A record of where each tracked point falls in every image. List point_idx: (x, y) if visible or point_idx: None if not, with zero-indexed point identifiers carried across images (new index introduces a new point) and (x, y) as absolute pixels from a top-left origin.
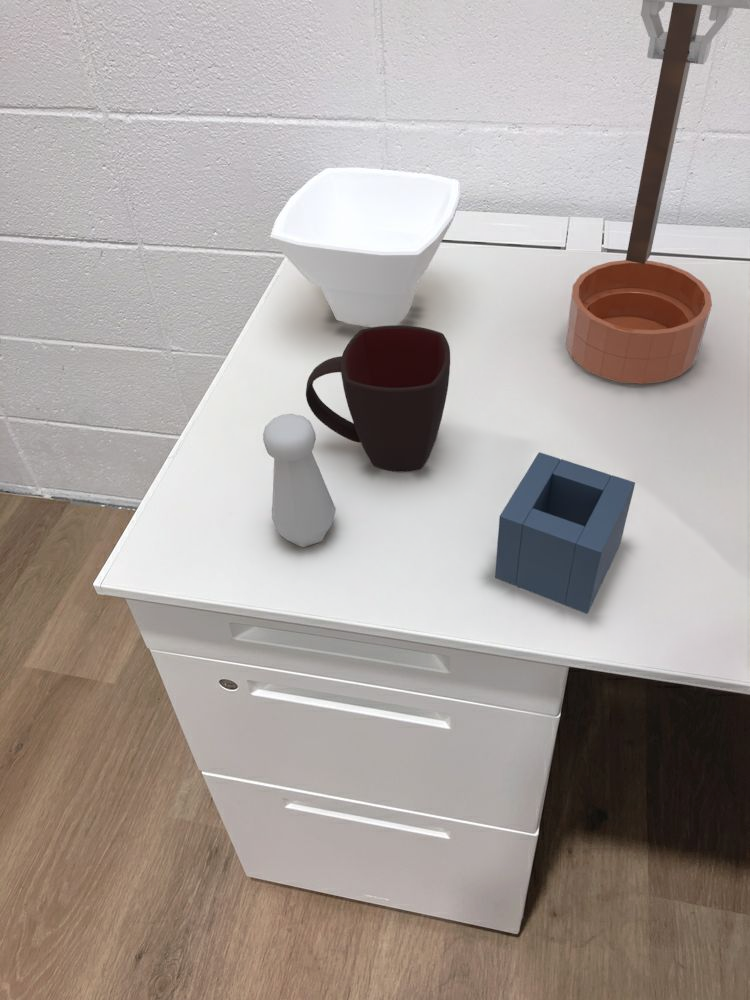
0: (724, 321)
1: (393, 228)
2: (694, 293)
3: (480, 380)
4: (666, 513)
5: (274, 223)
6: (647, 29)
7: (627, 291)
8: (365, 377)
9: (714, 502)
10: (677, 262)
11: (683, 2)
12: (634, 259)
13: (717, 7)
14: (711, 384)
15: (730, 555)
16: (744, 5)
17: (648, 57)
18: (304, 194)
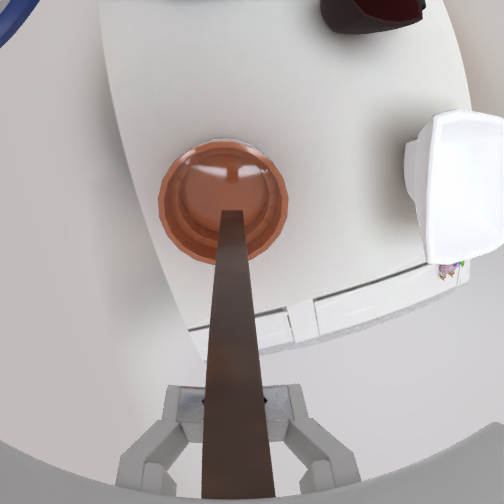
0: (170, 256)
1: (448, 220)
2: (183, 240)
3: (324, 104)
4: (146, 31)
5: None
6: (322, 429)
7: None
8: (395, 18)
9: (120, 57)
10: None
11: (239, 502)
12: (233, 211)
13: (143, 488)
14: (152, 174)
15: (106, 26)
16: (64, 477)
17: (296, 384)
18: None
